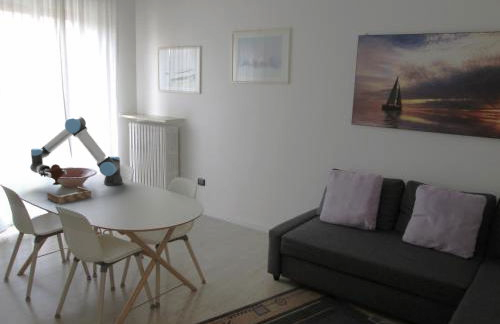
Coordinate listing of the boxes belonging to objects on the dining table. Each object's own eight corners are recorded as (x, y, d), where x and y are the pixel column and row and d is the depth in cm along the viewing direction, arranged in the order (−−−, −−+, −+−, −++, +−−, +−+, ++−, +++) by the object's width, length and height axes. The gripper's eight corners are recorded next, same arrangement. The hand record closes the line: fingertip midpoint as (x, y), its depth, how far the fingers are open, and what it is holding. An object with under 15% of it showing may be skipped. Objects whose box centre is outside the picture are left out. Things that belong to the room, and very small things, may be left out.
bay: (78, 192, 314) (78, 186, 313) (91, 197, 304) (90, 190, 303) (47, 199, 295) (47, 192, 294) (59, 204, 285) (59, 197, 284)
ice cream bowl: (45, 184, 306) (43, 165, 303) (58, 181, 316) (56, 162, 313) (54, 186, 301) (53, 166, 298) (67, 183, 311) (66, 164, 308)
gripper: (58, 172, 328) (73, 176, 315) (28, 177, 309) (43, 181, 296) (58, 162, 326) (72, 166, 313) (27, 167, 308) (42, 171, 295)
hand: (58, 173), depth 305 cm, fingers closed on ice cream bowl, 11 cm apart
